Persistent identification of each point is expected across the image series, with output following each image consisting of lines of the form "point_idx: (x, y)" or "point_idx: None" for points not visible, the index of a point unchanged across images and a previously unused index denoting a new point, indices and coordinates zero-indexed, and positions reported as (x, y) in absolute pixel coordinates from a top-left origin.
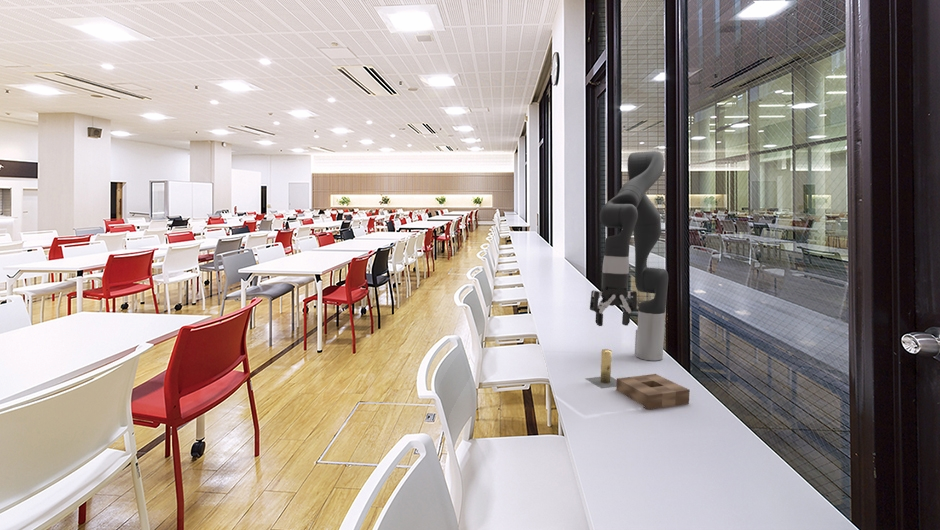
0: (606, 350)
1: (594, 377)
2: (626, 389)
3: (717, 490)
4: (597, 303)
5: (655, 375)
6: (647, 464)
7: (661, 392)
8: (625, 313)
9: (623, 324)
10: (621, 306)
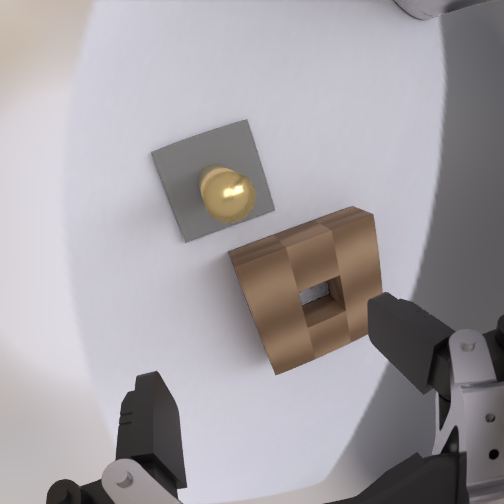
0: (229, 197)
1: (188, 139)
2: (247, 302)
3: (255, 483)
4: None
5: (366, 229)
6: (202, 470)
7: (316, 354)
8: (425, 378)
9: (369, 313)
10: (451, 411)
